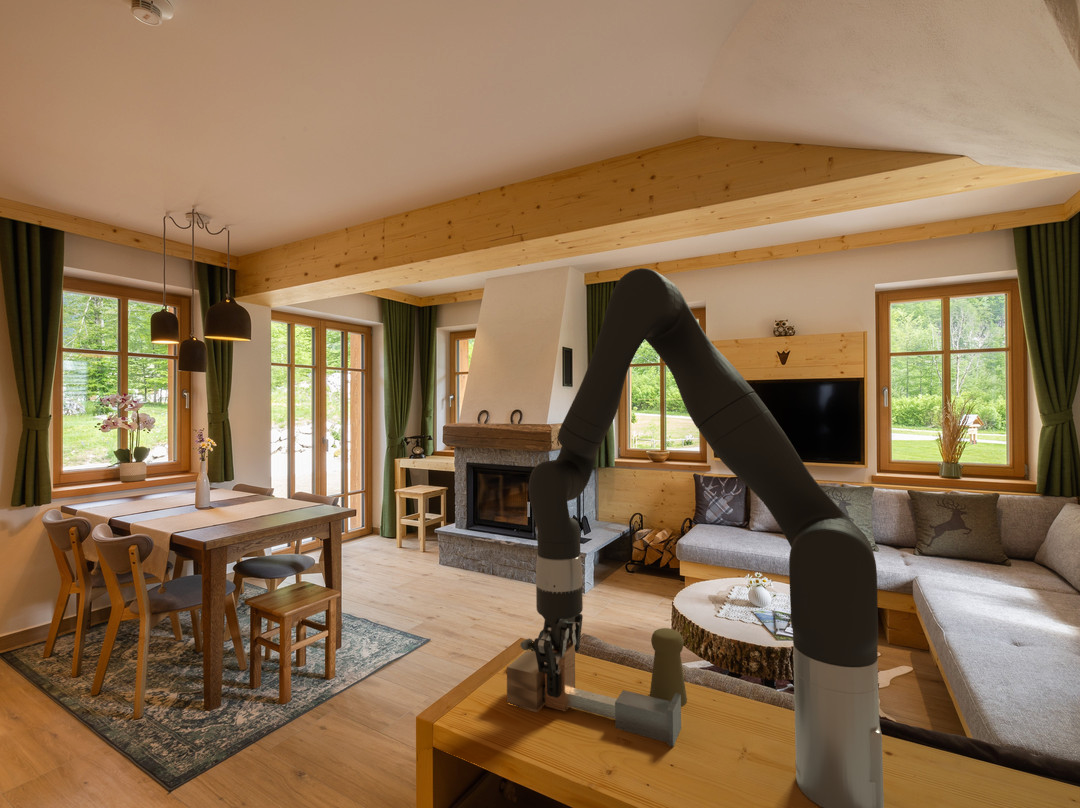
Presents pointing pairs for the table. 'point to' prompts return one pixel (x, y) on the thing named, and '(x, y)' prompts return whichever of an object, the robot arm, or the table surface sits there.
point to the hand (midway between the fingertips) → (560, 688)
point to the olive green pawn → (667, 665)
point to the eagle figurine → (530, 643)
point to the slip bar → (576, 691)
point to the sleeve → (649, 716)
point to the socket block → (525, 682)
